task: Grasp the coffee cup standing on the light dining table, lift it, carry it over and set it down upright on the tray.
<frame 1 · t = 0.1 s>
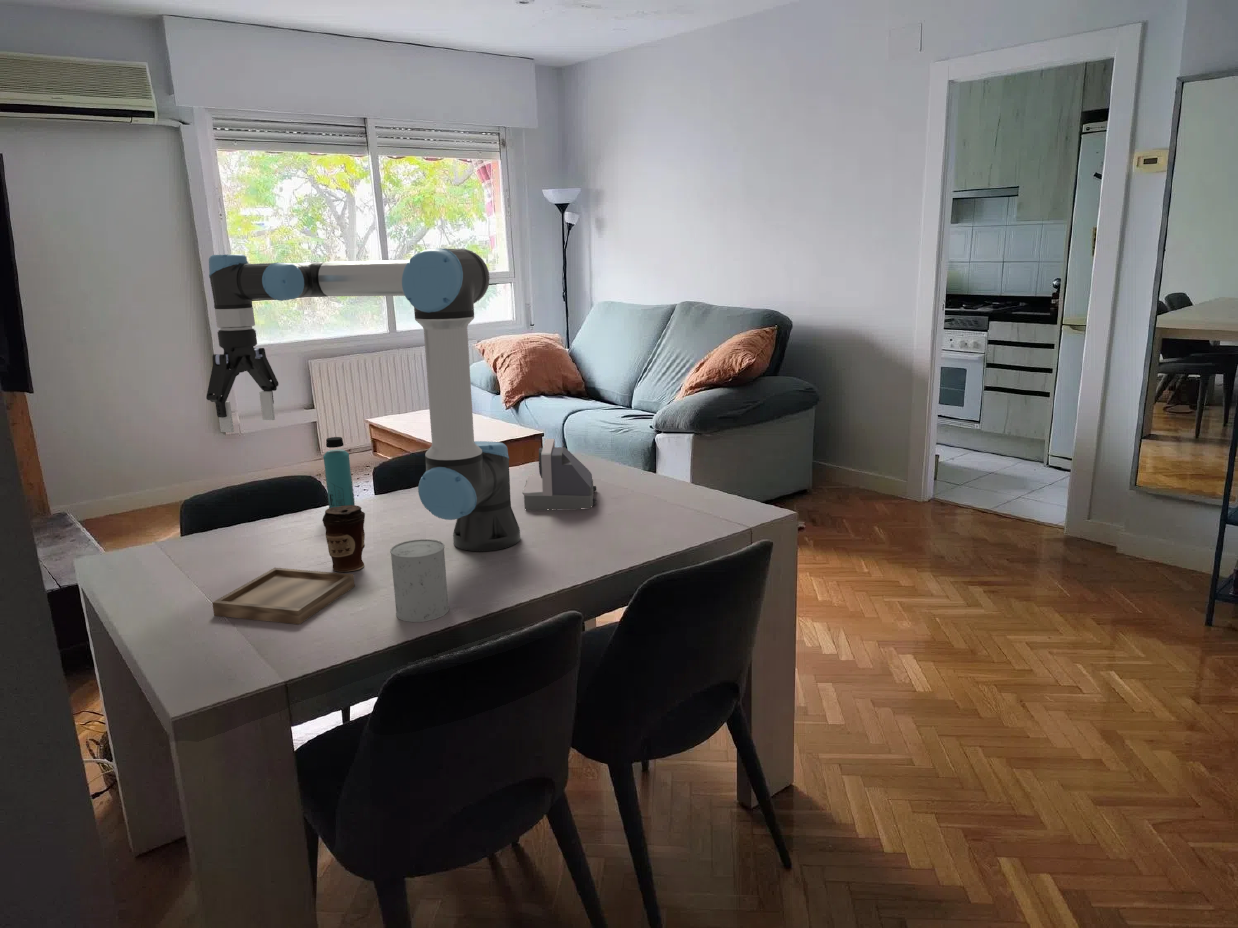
hand: (248, 425, 185), 28 cm above the table, fingers open, 13 cm apart
white speckled cylinder: (422, 612, 155), on the table
beverage bottle: (342, 514, 215), on the table
coffee cup: (348, 568, 177), on the table
instant camera: (560, 501, 224), on the table
tray: (287, 600, 161), on the table
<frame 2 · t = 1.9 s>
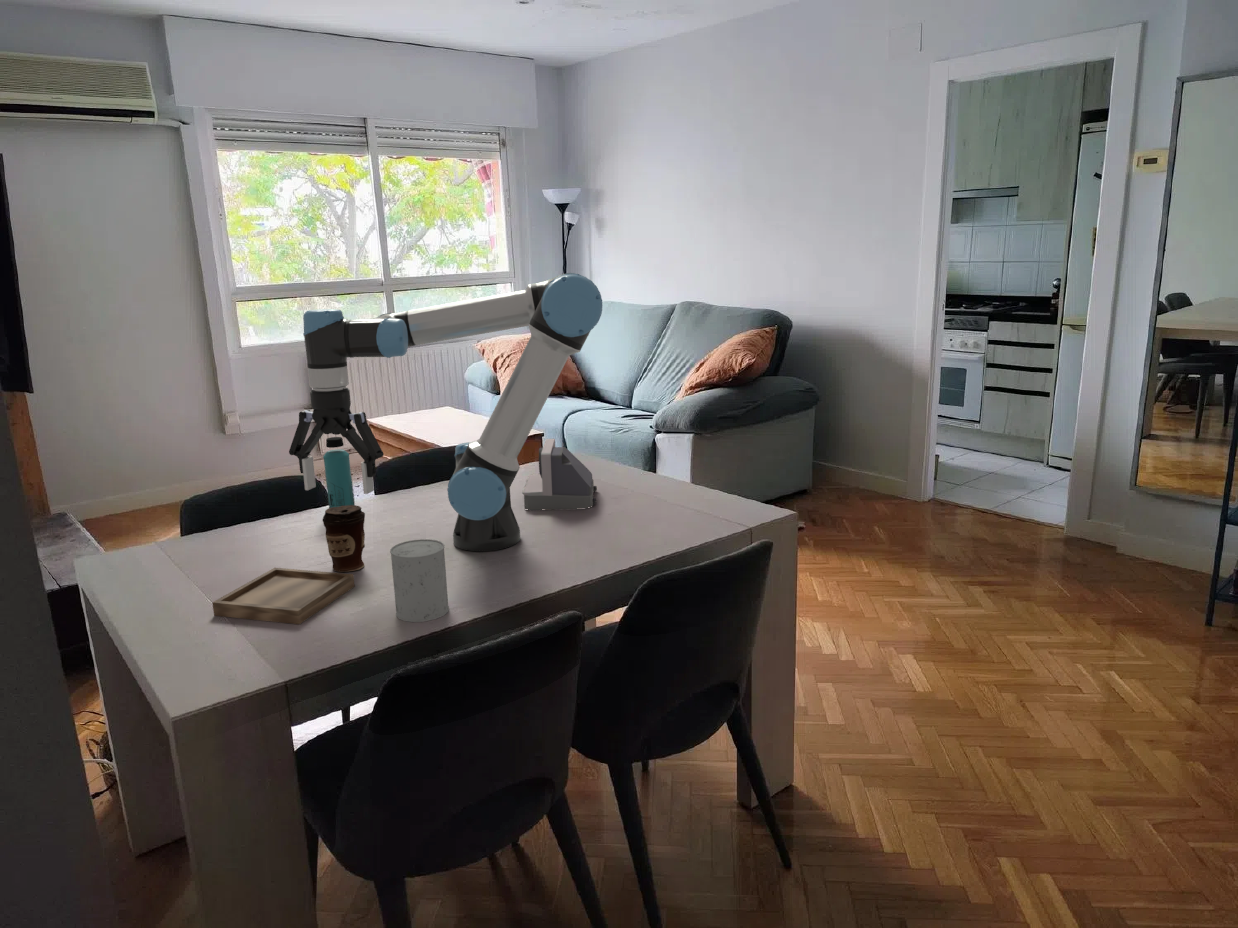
hand: (339, 490, 173), 17 cm above the table, fingers open, 13 cm apart
nothing on the table moved.
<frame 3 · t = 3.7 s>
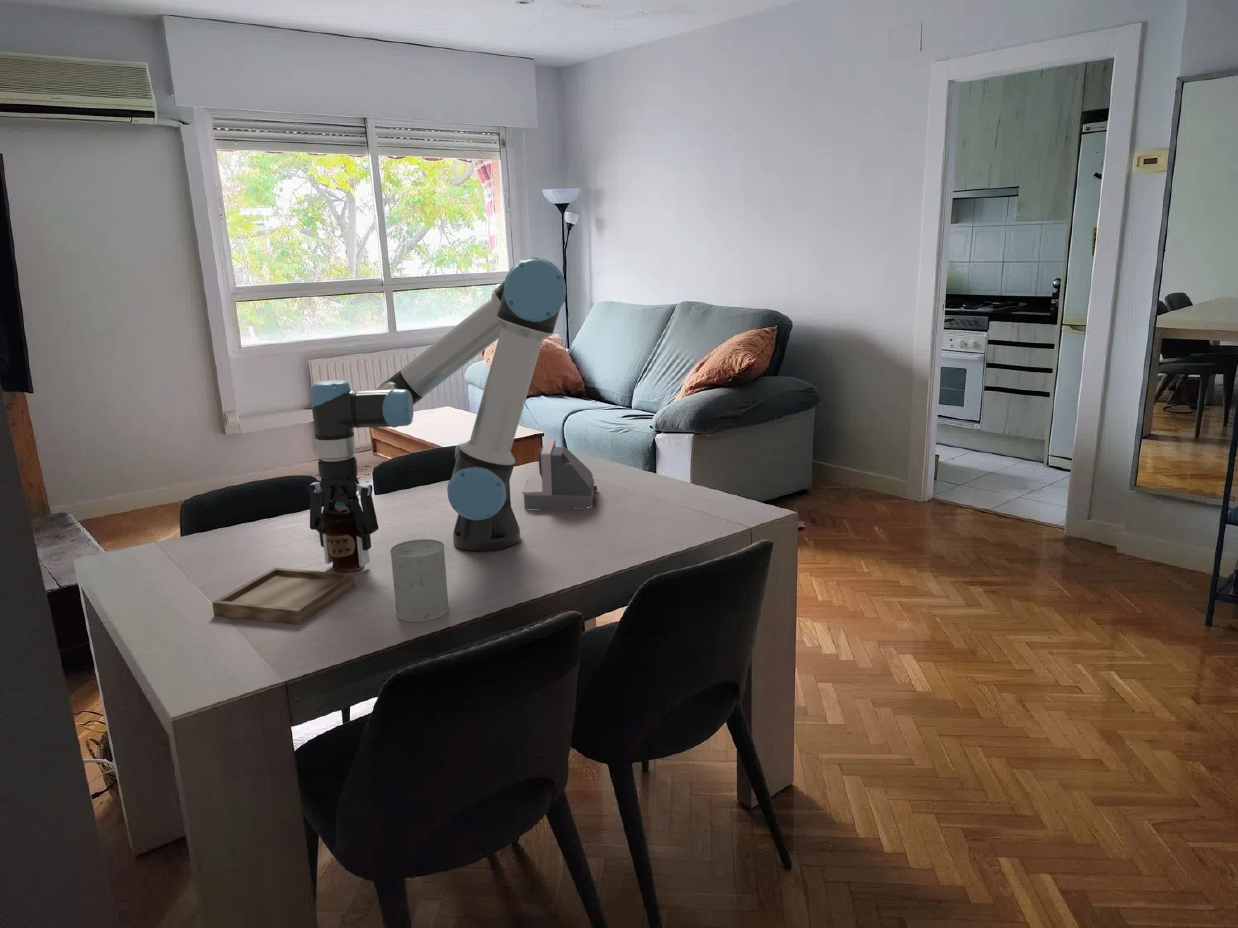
hand: (347, 562, 177), 1 cm above the table, fingers closed on coffee cup, 7 cm apart
coffee cup: (348, 568, 177), on the table, touching gripper
everything else where it was.
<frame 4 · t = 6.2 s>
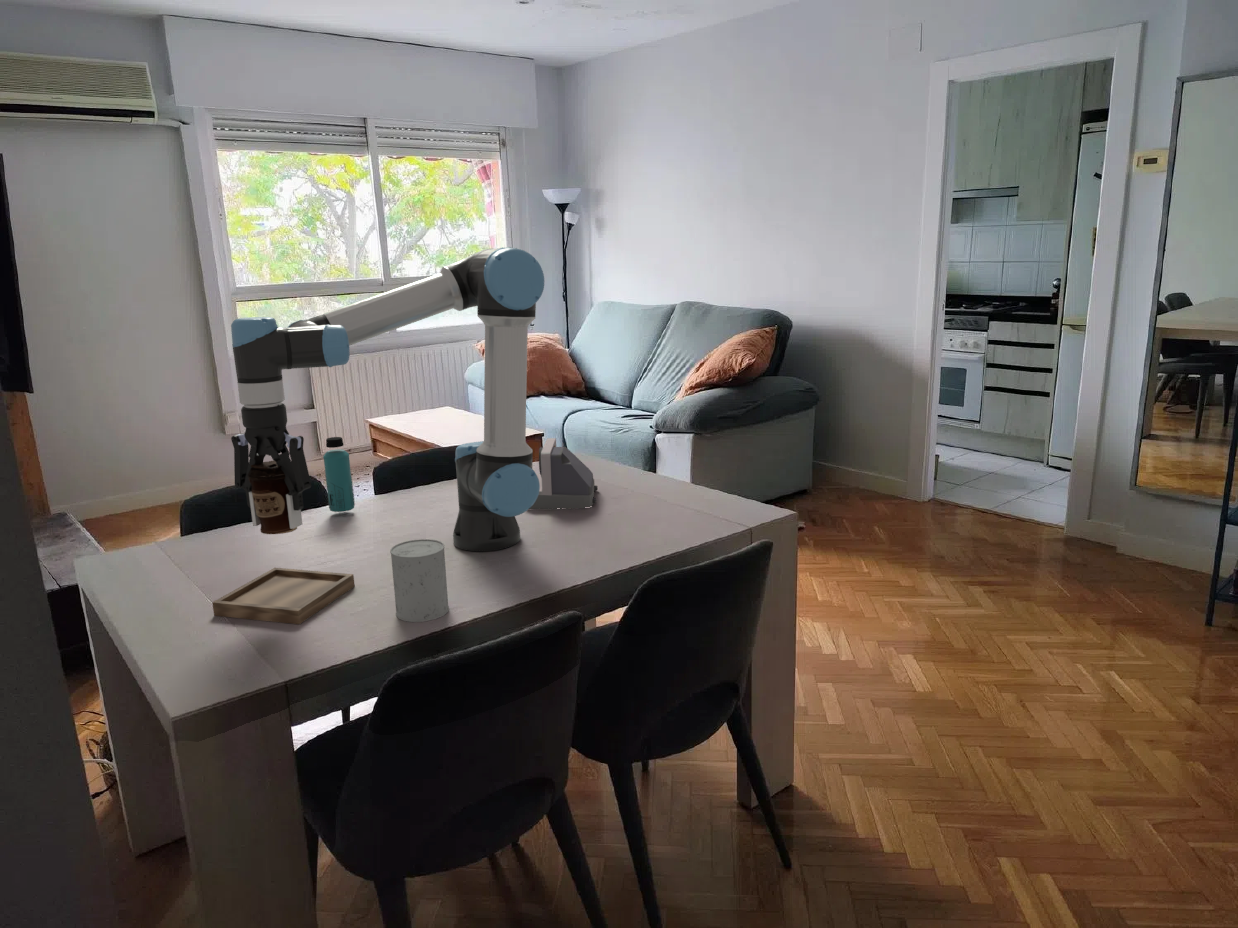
hand: (277, 524, 157), 15 cm above the table, fingers closed on coffee cup, 7 cm apart
coffee cup: (279, 531, 158), point 14 cm above the table, touching gripper
everything else where it was.
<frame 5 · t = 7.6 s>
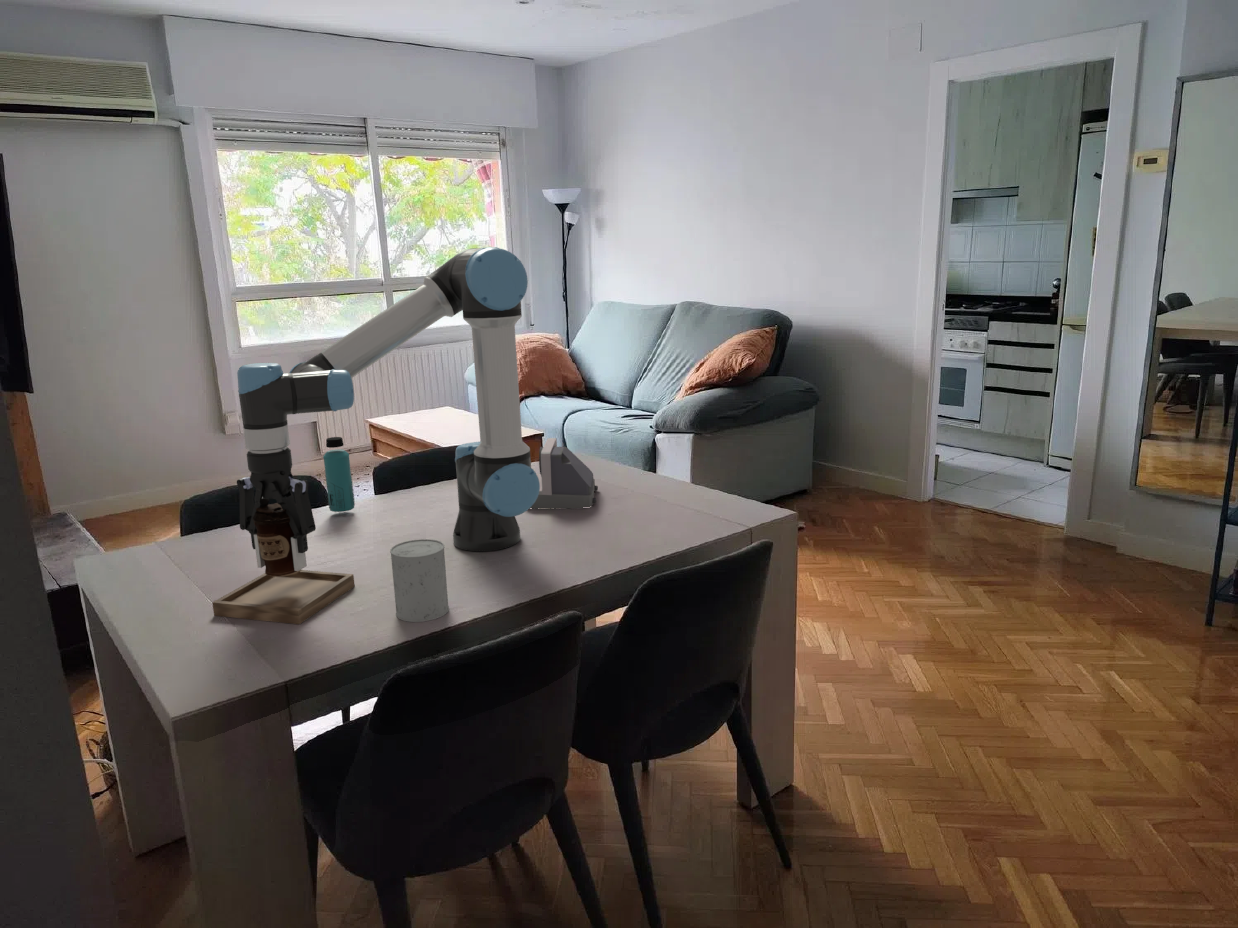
hand: (282, 566, 159), 7 cm above the table, fingers closed on coffee cup, 7 cm apart
coffee cup: (283, 573, 159), point 6 cm above the table, touching gripper
everything else where it was.
when the fingers open (4 cm above the table, at t = 8.6 s): coffee cup drops 1 cm, resting on tray.
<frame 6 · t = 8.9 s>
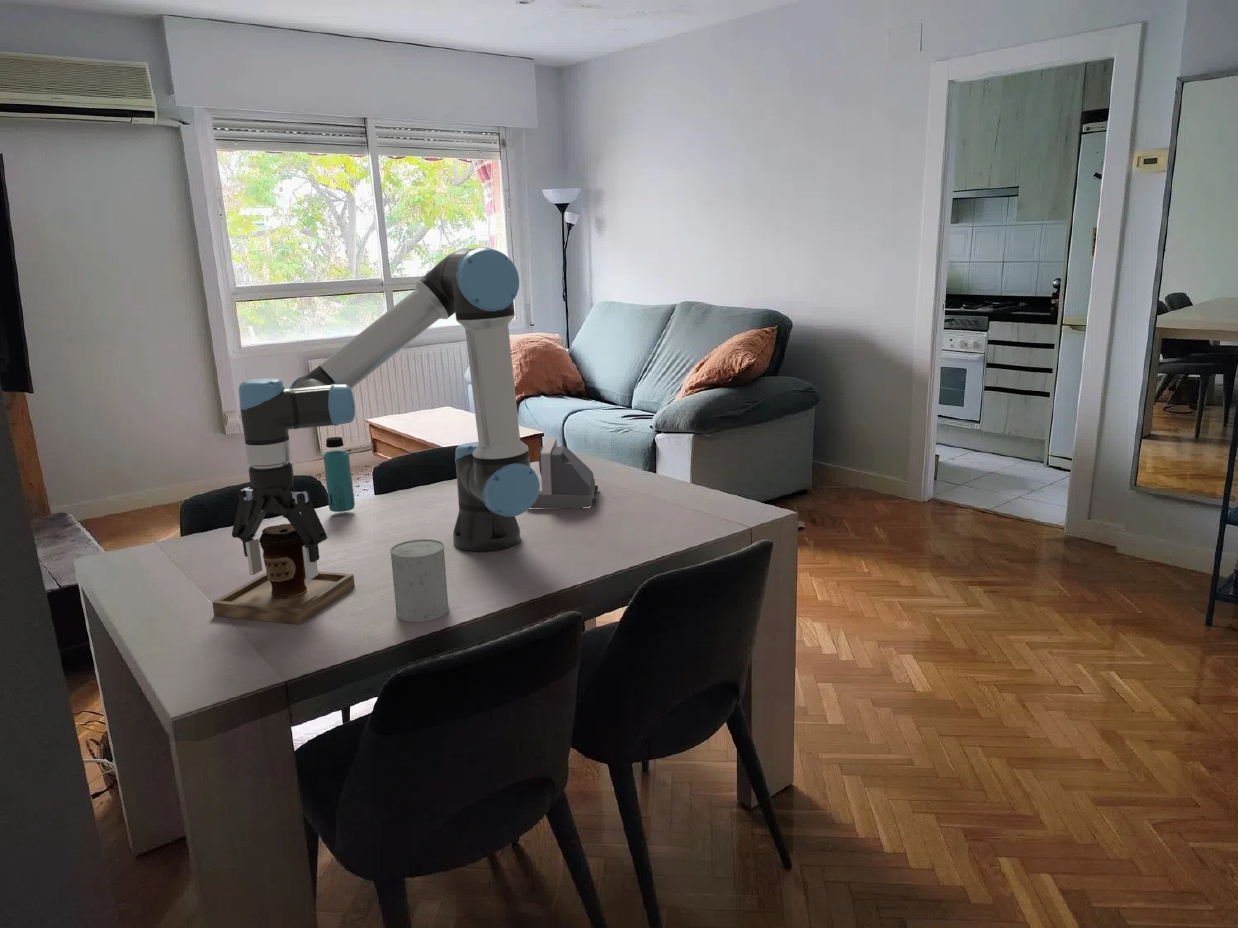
hand: (283, 574, 160), 5 cm above the table, fingers open, 11 cm apart
coffee cup: (289, 593, 160), point 1 cm above the table, touching tray
everything else where it was.
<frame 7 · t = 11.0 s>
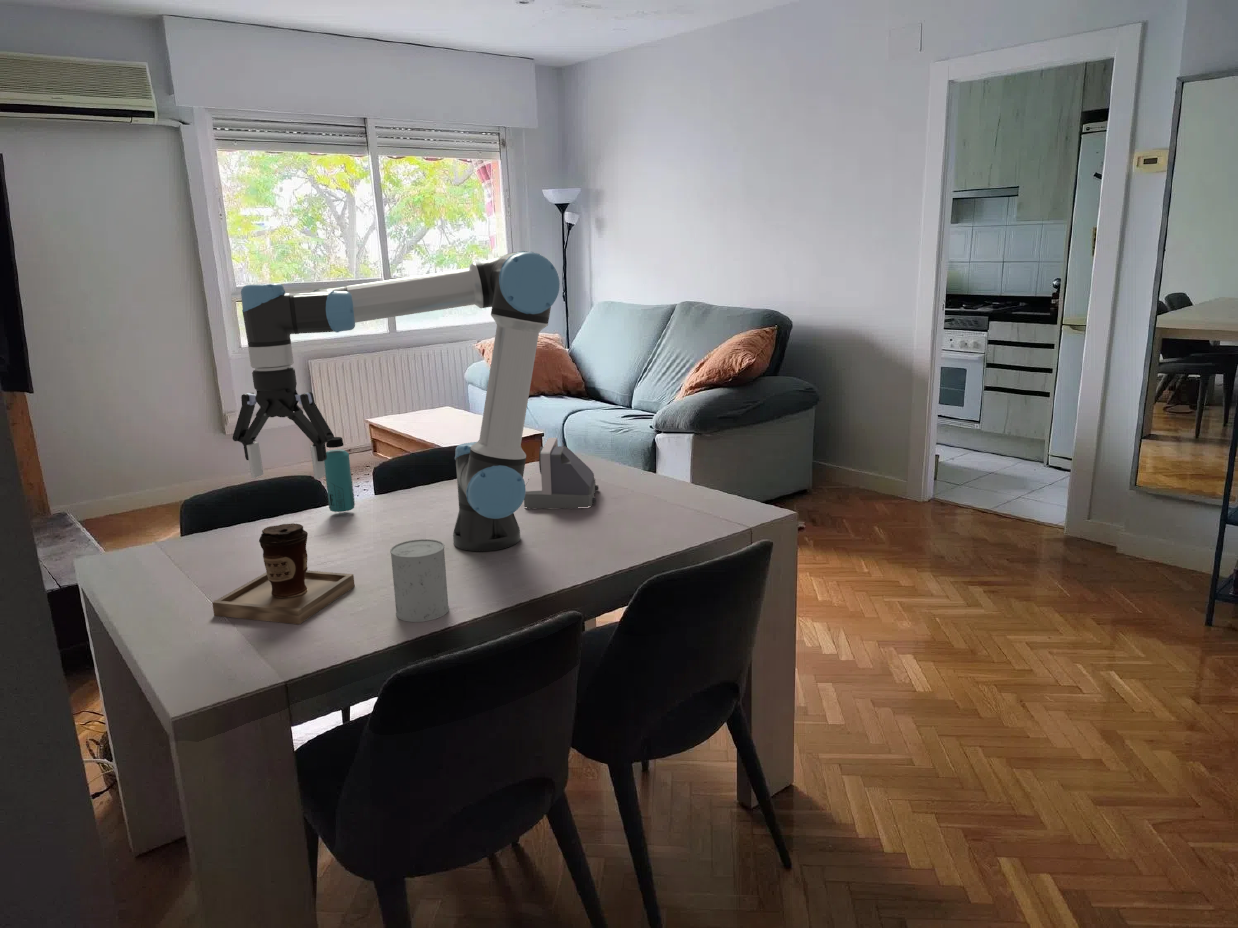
hand: (288, 477, 163), 22 cm above the table, fingers open, 13 cm apart
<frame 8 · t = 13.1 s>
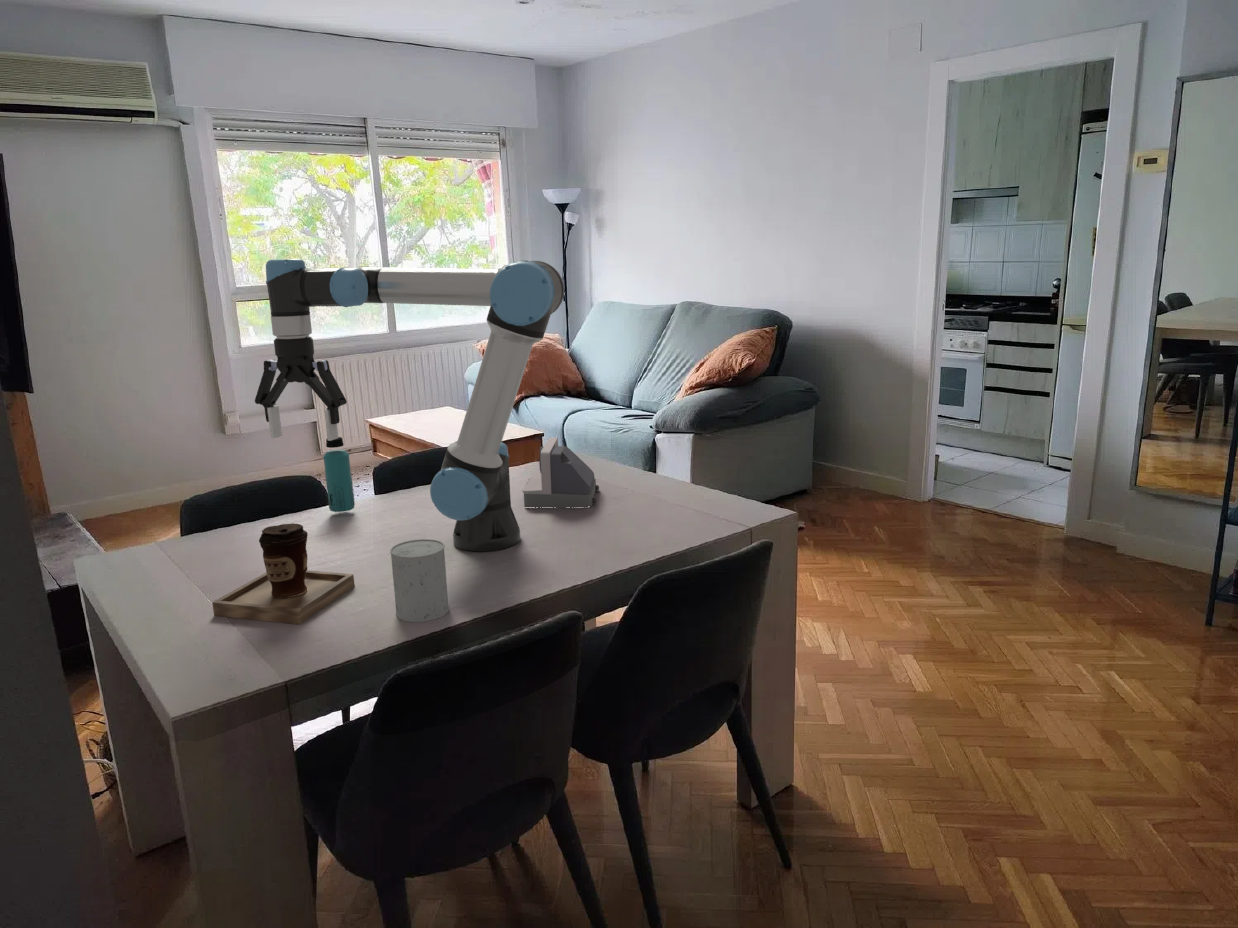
hand: (304, 438, 177), 27 cm above the table, fingers open, 13 cm apart
at the end: coffee cup inside the target area on the tray (0.8 cm from its centre), point 1.4 cm above the tray's base; coffee cup tilted 0°; coffee cup touching tray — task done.
